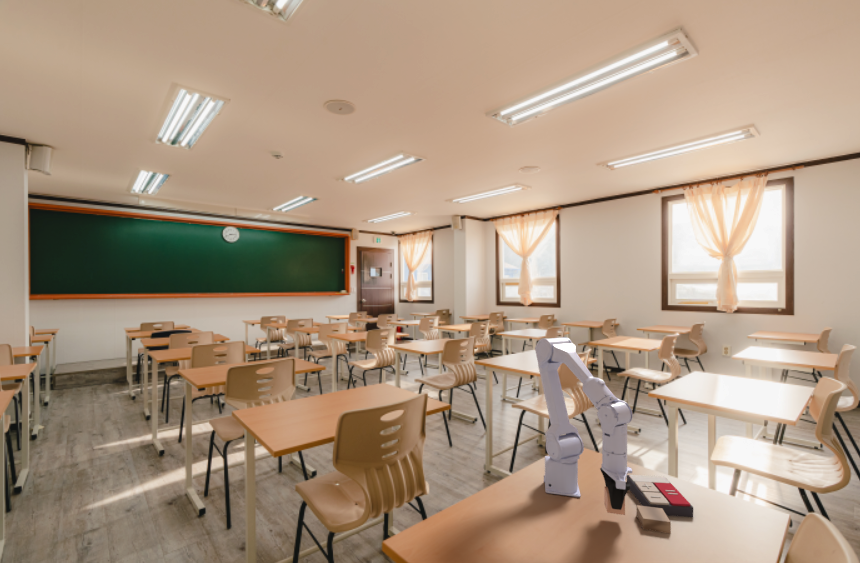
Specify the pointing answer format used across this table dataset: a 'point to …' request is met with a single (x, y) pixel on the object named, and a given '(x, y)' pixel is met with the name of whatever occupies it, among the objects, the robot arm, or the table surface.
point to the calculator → (659, 495)
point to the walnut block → (653, 519)
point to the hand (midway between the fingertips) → (614, 503)
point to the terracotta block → (609, 507)
